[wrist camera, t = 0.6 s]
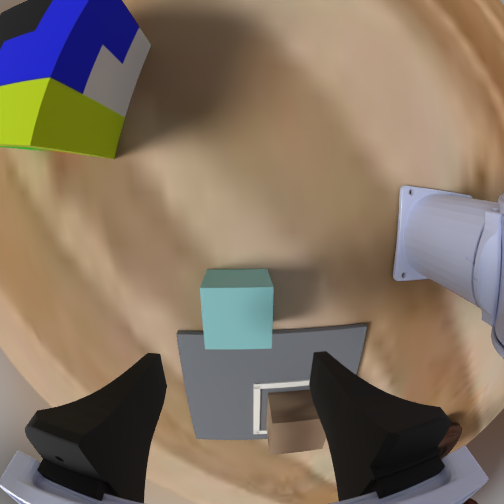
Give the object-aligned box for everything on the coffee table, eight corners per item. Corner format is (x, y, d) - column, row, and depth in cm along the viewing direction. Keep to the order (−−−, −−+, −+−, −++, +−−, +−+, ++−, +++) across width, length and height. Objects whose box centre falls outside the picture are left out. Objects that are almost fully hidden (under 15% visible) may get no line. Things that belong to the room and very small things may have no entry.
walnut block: (320, 388, 23) (331, 416, 19) (313, 421, 24) (322, 448, 20) (267, 392, 23) (272, 423, 19) (266, 425, 24) (269, 454, 20)
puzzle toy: (151, 45, 16) (105, -24, 6) (114, 159, 18) (29, 145, 8) (62, 51, 15) (1, 12, 5) (30, 149, 17) (-49, 144, 7)
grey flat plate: (364, 323, 22) (367, 327, 21) (338, 426, 25) (340, 430, 25) (177, 330, 21) (176, 335, 21) (196, 434, 25) (196, 439, 24)
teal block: (267, 268, 21) (273, 286, 17) (266, 321, 22) (271, 348, 18) (207, 269, 20) (200, 287, 17) (210, 322, 21) (205, 349, 18)
